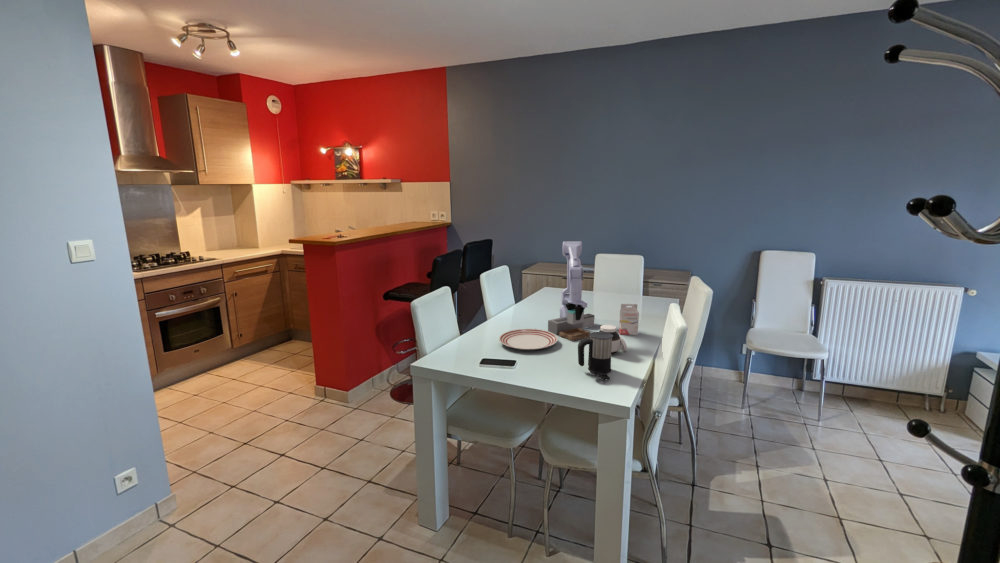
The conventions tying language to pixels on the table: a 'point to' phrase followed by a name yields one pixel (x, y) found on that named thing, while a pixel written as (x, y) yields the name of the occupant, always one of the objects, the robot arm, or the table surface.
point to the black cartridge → (588, 320)
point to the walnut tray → (574, 334)
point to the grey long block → (561, 325)
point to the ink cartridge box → (629, 319)
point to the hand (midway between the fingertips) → (575, 318)
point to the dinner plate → (528, 339)
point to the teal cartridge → (574, 317)
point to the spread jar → (614, 339)
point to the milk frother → (597, 354)
